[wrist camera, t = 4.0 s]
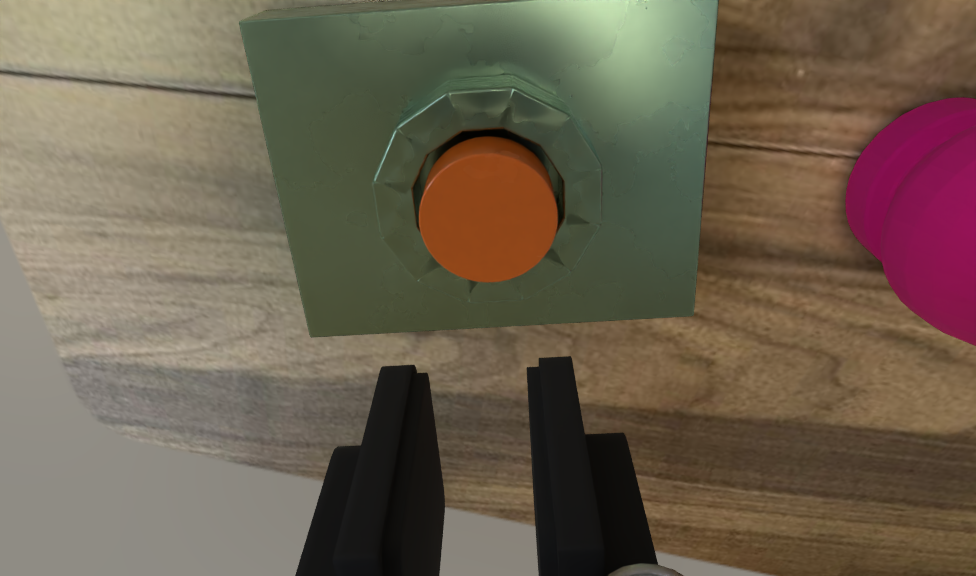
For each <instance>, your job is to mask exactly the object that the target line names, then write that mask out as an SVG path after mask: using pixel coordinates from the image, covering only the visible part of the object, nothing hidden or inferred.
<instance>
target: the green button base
mask: <svg viewBox="0 0 976 576" xmlns="http://www.w3.org/2000/svg"><path fill="white" fill-rule="evenodd" d="M718 4H719V0H393V1H380V2H366V3H353V4H340V5H327V6H314V7H301V8H287V9H274V10H265V11H263V12H260V13H258V14H256V15H253V16H251V17H248V18H246V19H244V20H241V21H239V25H240V30H241V34H242V38H243V43H244V47H245V52H246V56H247V61H248V65H249V69H250V74H251V78H252V83H253V87H254V91H255V96H256V100H257V105H258V109H259V114H260V118H261V122H262V127H263V131H264V136H265V140H266V145H267V149H268V153H269V158H270V162H271V167H272V171H273V175H274V180H275V184H276V189H277V193H278V198H279V202H280V206H281V211H282V215H283V220H284V224H285V229H286V233H287V237H288V242H289V246H290V251H291V255H292V259H293V264H294V268H295V273H296V277H297V282H298V286H299V290H300V295H301V299H302V304H303V308H304V313H305V317H306V321H307V326H308V330H309V335H310V337H328V336H346V335H364V334H381V333H399V332H417V331H435V330H453V329H471V328H489V327H507V326H525V325H543V324H561V323H579V322H597V321H615V320H633V319H650V318H668V317H686V316H693V315H694V305H695V293H696V280H697V268H698V255H699V242H700V230H701V217H702V205H703V192H704V180H705V167H706V155H707V142H708V130H709V117H710V105H711V92H712V80H713V67H714V54H715V42H716V29H717V17H718ZM484 136H493V137H501V138H505V139H509V140H512V141H514V142H517V143H519V144H521V145H523V146H524V147H526V148H527V149H529V150H530V151H531V152H533V153H534V154H535V155H536V156H537V157H538V158H539V159H540V161H541V162H542V163H543V165H544V166H545V168H546V170H547V172H548V174H549V176H550V179H551V182H552V186H553V190H554V195H555V200H556V205H557V211H558V226H557V231H556V235H555V238H554V241H553V243H552V245H551V247H550V249H549V250H548V252H547V253H546V255H545V256H544V257H543V258H542V259H541V261H540V262H539V263H538V264H536V265H535V266H534V267H533V268H531V269H530V270H529V271H527V272H526V273H524V274H522V275H520V276H518V277H515V278H512V279H509V280H505V281H500V282H477V281H472V280H468V279H465V278H462V277H459V276H457V275H455V274H453V273H451V272H450V271H448V270H447V269H445V268H444V267H443V266H442V265H441V264H439V263H438V262H437V261H436V260H435V258H434V257H433V256H432V255H431V253H430V252H429V250H428V249H427V247H426V245H425V243H424V241H423V238H422V236H421V232H420V227H419V207H420V203H421V199H422V195H423V191H424V187H425V183H426V180H427V177H428V175H429V172H430V170H431V169H432V167H433V165H434V164H435V162H436V161H437V160H438V159H439V158H440V157H441V156H442V155H443V154H444V153H445V152H446V151H447V150H448V149H450V148H451V147H453V146H455V145H456V144H458V143H460V142H463V141H465V140H468V139H472V138H476V137H484Z"/></svg>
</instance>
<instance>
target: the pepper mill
mask: <svg viewBox="0 0 976 576" xmlns="http://www.w3.org/2000/svg"><path fill="white" fill-rule="evenodd" d="M845 202H846V215H847V219H848V223H849V226H850V228H851V230H852V232H853V234H854V235H855V237H856V238H857V239H858V240H859V242H860V243H861V244H862V245H863V246H864V247H865V248H866V249H867V250H869V251H870V252H871V253H872V254H873V255H874V256H875V257H876V258H877V259H879V260H880V261H881V262H882V263H883V268H884V273H885V275H886V277H887V279H888V282H889V284H890V286H891V287H892V289H893V290H894V292H895V293H896V294H897V296H898V297H899V299H900V300H901V301H902V302H903V303H904V304H905V305H906V306H907V307H908V308H909V309H910V310H911V311H913V312H914V313H915V314H917V315H918V316H920V317H921V318H922V319H924V320H925V321H926V322H928V323H929V324H931V325H932V326H934V327H936V328H937V329H939V330H940V331H942V332H943V333H946V334H948V335H950V336H953V337H955V338H958V339H960V340H963V341H965V342H968V343H970V344H972V345H975V346H976V99H973V98H965V97H961V98H948V99H943V100H939V101H935V102H931V103H927V104H925V105H922V106H920V107H917V108H915V109H913V110H911V111H909V112H907V113H905V114H903V115H901V116H900V117H898V118H897V119H896V120H894V121H893V122H892V123H890V124H889V125H888V126H887V127H885V128H884V129H883V130H882V131H880V132H879V133H878V134H877V136H876V137H875V138H874V139H873V140H872V141H871V142H870V144H869V145H868V146H867V147H866V148H865V150H864V151H863V152H862V153H861V155H860V157H859V158H858V160H857V162H856V164H855V166H854V168H853V171H852V173H851V175H850V177H849V181H848V186H847V190H846V200H845Z"/></svg>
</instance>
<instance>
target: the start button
mask: <svg viewBox="0 0 976 576" xmlns="http://www.w3.org/2000/svg"><path fill="white" fill-rule="evenodd" d="M557 226H558V211H557V205H556V200H555V195H554V190H553V186H552V182H551V179H550V176H549V174H548V172H547V170H546V168H545V166H544V165H543V163H542V162H541V161H540V159H539V158H538V157H537V156H536V155H535V154H534V153H533V152H531V151H530V150H529V149H527V148H526V147H524V146H523V145H521V144H519V143H517V142H514V141H512V140H509V139H505V138H501V137H493V136H484V137H476V138H472V139H468V140H465V141H463V142H460V143H458V144H456V145H455V146H453V147H451V148H450V149H448V150H447V151H446V152H445V153H444V154H443V155H442V156H441V157H440V158H439V159H438V160H437V161H436V162H435V164H434V165H433V167H432V169H431V170H430V172H429V175H428V177H427V180H426V183H425V187H424V191H423V195H422V199H421V203H420V207H419V227H420V232H421V236H422V238H423V241H424V243H425V245H426V247H427V249H428V250H429V252H430V253H431V255H432V256H433V257H434V258H435V260H436V261H437V262H438V263H439V264H441V265H442V266H443V267H444V268H445V269H447V270H448V271H450V272H451V273H453V274H455V275H457V276H459V277H462V278H465V279H468V280H472V281H477V282H500V281H505V280H509V279H512V278H515V277H518V276H520V275H522V274H524V273H526V272H527V271H529V270H530V269H531V268H533V267H534V266H535V265H536V264H538V263H539V262H540V261H541V259H542V258H543V257H544V256H545V255H546V253H547V252H548V250H549V249H550V247H551V245H552V243H553V241H554V238H555V235H556V231H557Z"/></svg>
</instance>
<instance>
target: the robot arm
mask: <svg viewBox="0 0 976 576" xmlns="http://www.w3.org/2000/svg"><path fill="white" fill-rule="evenodd" d="M527 383H528V402H529V420H530V439H531V457H532V476H533V494H534V510H535V525H536V538H537V539H536V540H537V555H538V570H539V576H683V575H682V574H680V573H678V572H676V571H675V570H673V569H669V568H666V567H663V566H660V565H658V562H657V559H656V554H655V550H654V546H653V542H652V538H651V534H650V530H649V526H648V522H647V518H646V514H645V510H644V506H643V502H642V498H641V494H640V490H639V486H638V482H637V478H636V474H635V470H634V466H633V462H632V458H631V454H630V450H629V446H628V442H627V439H626V436H625V434H624V433H605V434H585V433H584V427H583V421H582V416H581V410H580V404H579V398H578V392H577V387H576V381H575V375H574V369H573V363H572V358H571V356H569V357H550V358H539V367H527ZM444 513H445V496H444V486H443V479H442V471H441V464H440V457H439V449H438V442H437V434H436V427H435V420H434V412H433V405H432V397H431V390H430V383H429V376H428V373H417V370H416V367H415V365H402V366H383V367H381V370H380V373H379V377H378V381H377V385H376V389H375V393H374V397H373V401H372V405H371V409H370V413H369V417H368V421H367V425H366V429H365V433H364V437H363V441H362V444H361V446H341V447H337V448H336V449H334V451H333V454H332V456H331V459H330V463H329V466H328V469H327V473H326V476H325V479H324V483H323V486H322V489H321V493H320V496H319V499H318V502H317V506H316V509H315V513H314V516H313V519H312V522H311V526H310V529H309V532H308V536H307V539H306V542H305V545H304V549H303V552H302V555H301V559H300V562H299V565H298V569H297V572H296V575H295V576H439V571H440V561H441V549H442V537H443V525H444Z"/></svg>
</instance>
